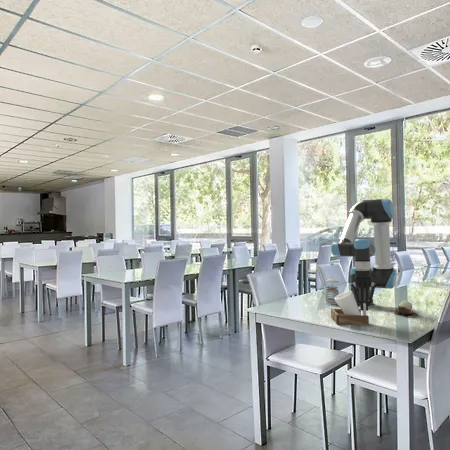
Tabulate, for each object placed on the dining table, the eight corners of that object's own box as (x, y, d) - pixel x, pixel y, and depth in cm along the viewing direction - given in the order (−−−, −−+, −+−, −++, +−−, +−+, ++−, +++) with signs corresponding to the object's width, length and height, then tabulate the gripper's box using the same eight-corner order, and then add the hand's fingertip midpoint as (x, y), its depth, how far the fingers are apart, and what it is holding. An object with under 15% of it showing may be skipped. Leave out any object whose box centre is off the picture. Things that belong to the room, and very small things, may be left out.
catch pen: (331, 317, 206) (331, 308, 206) (360, 317, 204) (360, 309, 204) (336, 324, 190) (336, 315, 190) (368, 325, 188) (368, 315, 188)
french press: (341, 304, 241) (340, 263, 241) (321, 303, 243) (321, 263, 244) (339, 301, 251) (339, 262, 251) (321, 300, 253) (320, 262, 253)
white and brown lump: (396, 309, 221) (409, 297, 217) (410, 323, 216) (424, 311, 211) (388, 311, 213) (401, 299, 208) (403, 326, 207) (417, 314, 203)
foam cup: (358, 313, 201) (347, 290, 202) (367, 315, 192) (355, 291, 193) (343, 321, 200) (331, 298, 200) (351, 324, 191) (339, 300, 191)
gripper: (351, 270, 193) (353, 318, 192) (378, 270, 192) (379, 318, 191) (348, 269, 201) (349, 315, 200) (373, 269, 200) (375, 315, 199)
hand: (364, 317), depth 195 cm, fingers closed
